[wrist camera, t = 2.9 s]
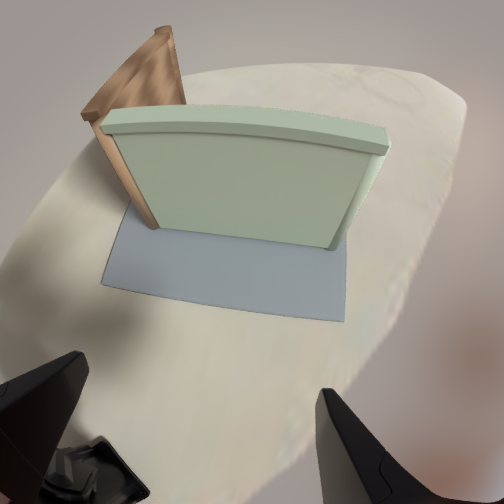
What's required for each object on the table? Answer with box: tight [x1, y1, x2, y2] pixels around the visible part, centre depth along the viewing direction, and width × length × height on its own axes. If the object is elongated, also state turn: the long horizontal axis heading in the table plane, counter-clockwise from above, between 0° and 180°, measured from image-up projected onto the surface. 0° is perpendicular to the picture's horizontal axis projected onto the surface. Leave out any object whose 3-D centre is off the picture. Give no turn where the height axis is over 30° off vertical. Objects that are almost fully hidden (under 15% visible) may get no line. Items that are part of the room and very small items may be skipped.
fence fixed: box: [81, 26, 186, 211], centre depth 24 cm, size 16×2×14 cm, turn 172°
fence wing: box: [92, 105, 392, 251], centre depth 20 cm, size 2×18×14 cm, turn 82°
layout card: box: [101, 199, 346, 322], centre depth 29 cm, size 23×22×1 cm
